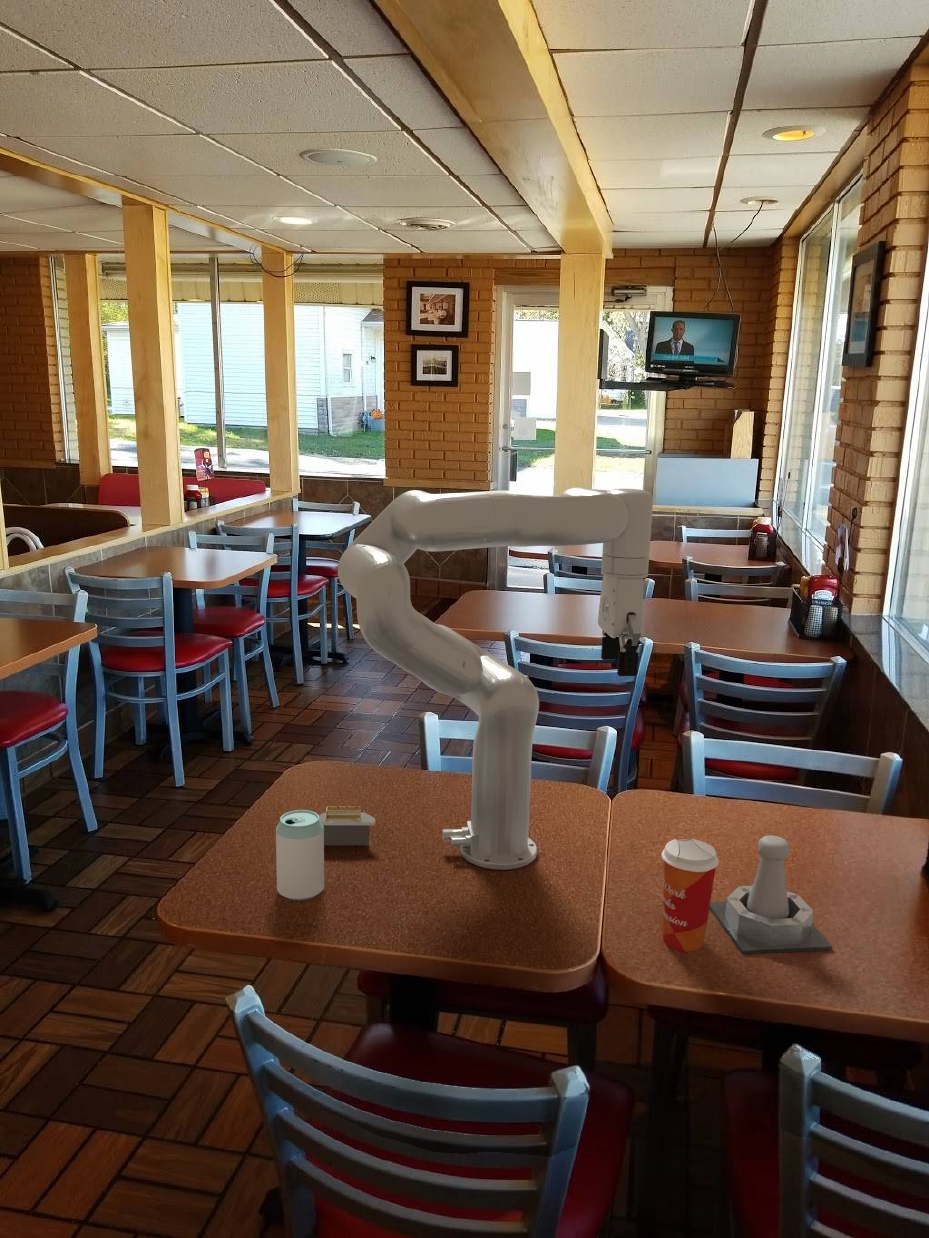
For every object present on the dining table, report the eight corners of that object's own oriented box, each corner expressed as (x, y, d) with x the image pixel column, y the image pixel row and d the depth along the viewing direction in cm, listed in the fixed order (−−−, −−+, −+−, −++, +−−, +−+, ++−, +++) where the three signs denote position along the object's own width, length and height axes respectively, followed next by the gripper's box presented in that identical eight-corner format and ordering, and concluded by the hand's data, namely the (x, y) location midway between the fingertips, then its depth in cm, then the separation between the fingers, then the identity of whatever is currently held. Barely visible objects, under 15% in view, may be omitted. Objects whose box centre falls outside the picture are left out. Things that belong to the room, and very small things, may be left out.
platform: (295, 829, 167) (295, 794, 166) (399, 829, 168) (400, 794, 167) (286, 861, 155) (286, 824, 154) (398, 861, 157) (399, 824, 155)
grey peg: (782, 913, 142) (791, 831, 139) (791, 934, 136) (801, 850, 133) (741, 910, 142) (749, 829, 139) (749, 931, 136) (757, 847, 134)
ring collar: (742, 954, 132) (745, 930, 131) (707, 905, 144) (709, 883, 144) (831, 949, 134) (834, 926, 133) (789, 902, 146) (791, 880, 145)
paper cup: (648, 926, 138) (655, 836, 135) (700, 925, 139) (708, 836, 136) (664, 957, 131) (671, 863, 127) (719, 956, 131) (728, 862, 128)
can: (311, 906, 141) (310, 830, 139) (268, 898, 143) (266, 823, 141) (331, 884, 148) (331, 811, 145) (290, 876, 150) (289, 804, 147)
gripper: (588, 557, 164) (583, 654, 168) (617, 575, 147) (610, 682, 151) (631, 557, 165) (625, 653, 169) (664, 575, 148) (656, 682, 152)
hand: (618, 667), depth 160 cm, fingers open, 9 cm apart
